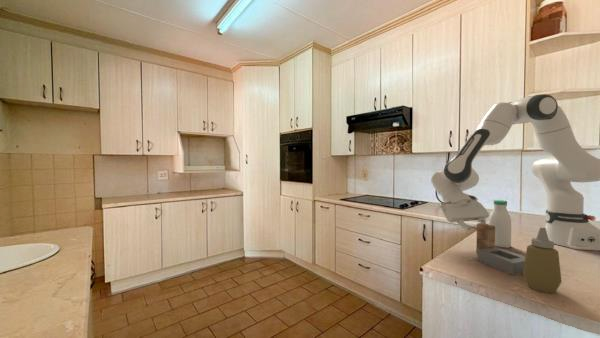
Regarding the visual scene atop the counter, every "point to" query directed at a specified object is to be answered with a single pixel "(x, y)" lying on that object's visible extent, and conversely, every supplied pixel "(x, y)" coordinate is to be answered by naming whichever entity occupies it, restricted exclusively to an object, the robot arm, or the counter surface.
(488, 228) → the wooden block
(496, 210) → the milk bottle
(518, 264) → the grey hollow block
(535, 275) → the squeeze bottle
